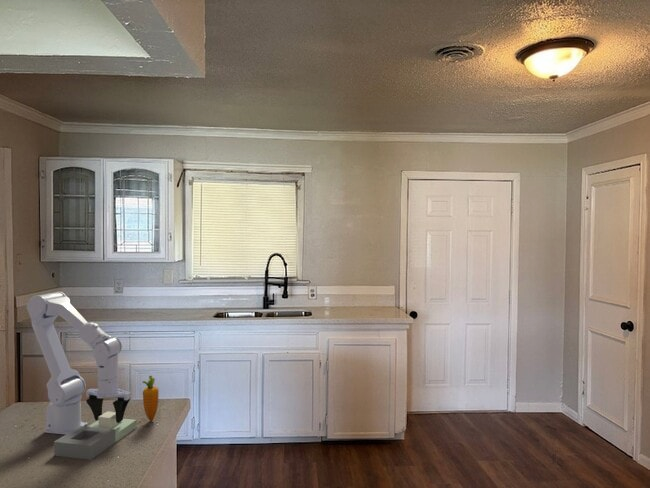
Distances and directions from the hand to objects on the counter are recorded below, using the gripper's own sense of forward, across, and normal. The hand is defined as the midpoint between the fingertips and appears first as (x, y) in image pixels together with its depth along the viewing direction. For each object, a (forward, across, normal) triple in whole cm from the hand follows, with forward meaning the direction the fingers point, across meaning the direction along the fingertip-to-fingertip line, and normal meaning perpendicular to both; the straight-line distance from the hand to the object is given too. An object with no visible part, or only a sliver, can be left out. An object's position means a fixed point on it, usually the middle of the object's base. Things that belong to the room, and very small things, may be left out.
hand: (108, 420), depth 136 cm
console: (+4, 0, -5) cm, 6 cm away
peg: (+4, 0, 0) cm, 4 cm away
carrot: (+4, +8, +10) cm, 14 cm away
